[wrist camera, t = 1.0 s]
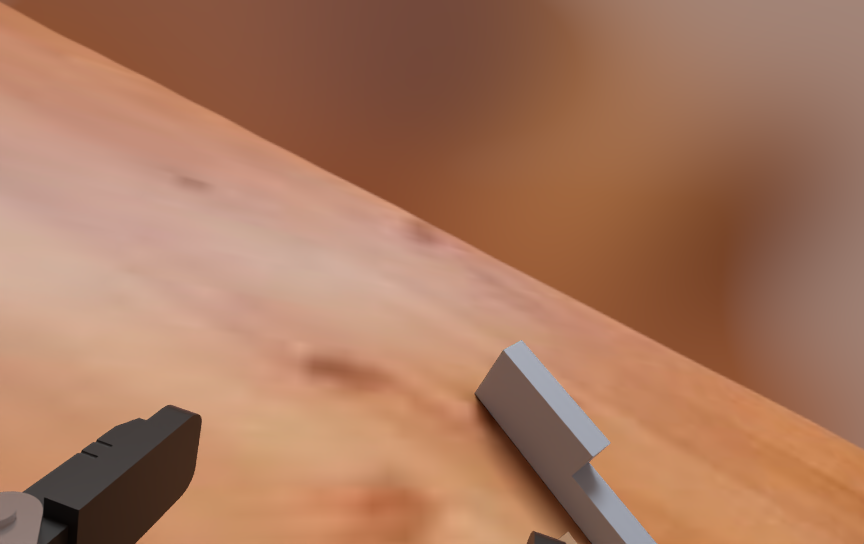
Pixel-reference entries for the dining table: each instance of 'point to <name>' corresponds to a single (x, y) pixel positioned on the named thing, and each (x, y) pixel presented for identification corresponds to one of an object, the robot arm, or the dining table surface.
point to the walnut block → (567, 539)
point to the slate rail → (557, 444)
